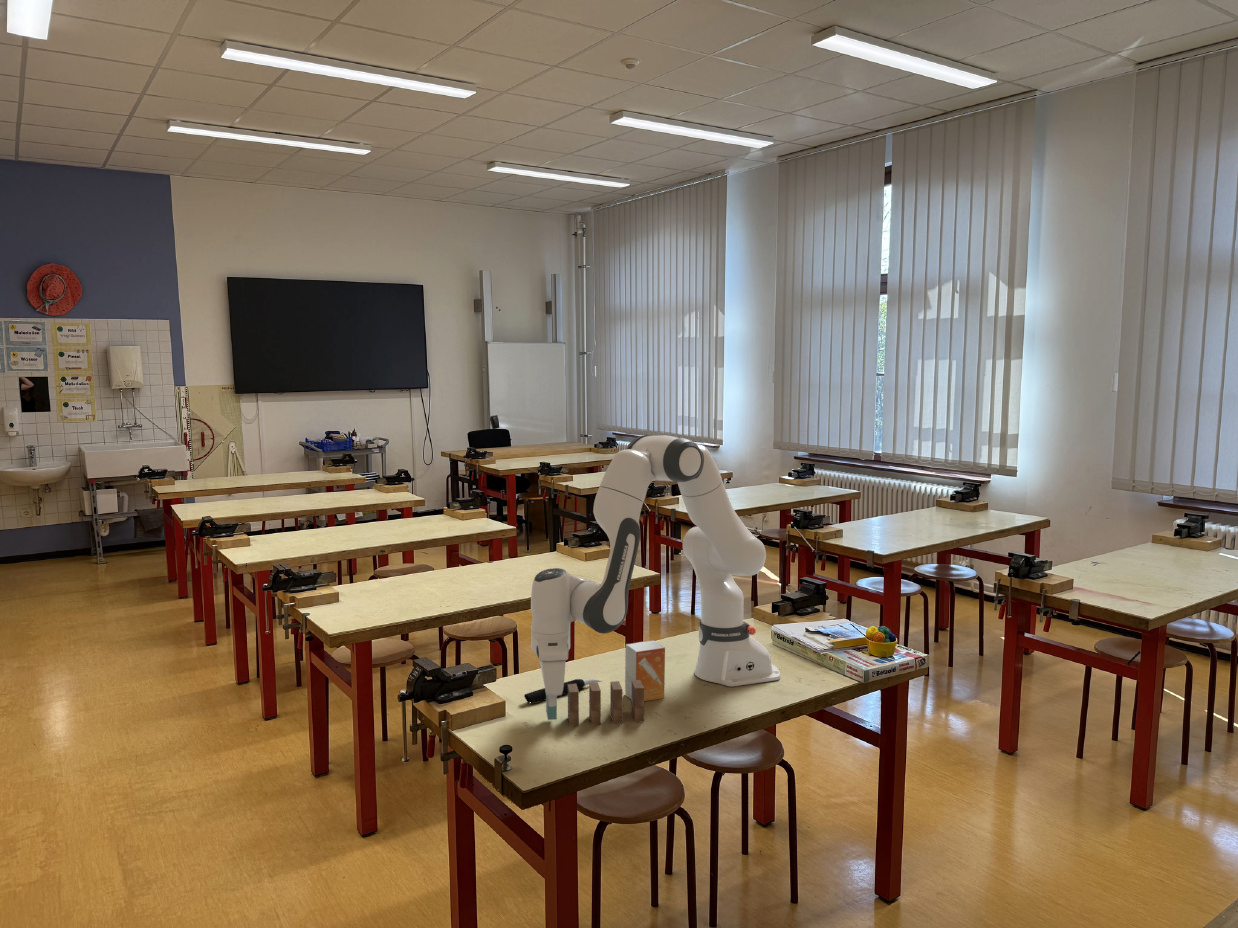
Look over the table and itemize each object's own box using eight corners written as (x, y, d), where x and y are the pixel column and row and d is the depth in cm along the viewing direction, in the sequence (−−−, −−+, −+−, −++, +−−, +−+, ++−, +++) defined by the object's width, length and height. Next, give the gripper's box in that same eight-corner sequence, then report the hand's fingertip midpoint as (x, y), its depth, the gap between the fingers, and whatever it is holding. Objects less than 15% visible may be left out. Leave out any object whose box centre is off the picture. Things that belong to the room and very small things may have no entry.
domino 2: (576, 716, 194) (576, 683, 193) (578, 725, 189) (578, 691, 188) (567, 717, 194) (567, 684, 193) (570, 726, 189) (569, 692, 188)
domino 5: (639, 712, 196) (640, 679, 196) (643, 721, 192) (644, 687, 191) (631, 713, 196) (631, 680, 195) (635, 721, 191) (635, 688, 190)
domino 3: (597, 715, 195) (597, 682, 194) (600, 724, 190) (600, 690, 189) (589, 715, 195) (589, 682, 194) (592, 724, 190) (591, 690, 189)
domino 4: (618, 713, 196) (618, 681, 195) (622, 722, 191) (622, 689, 190) (610, 714, 195) (610, 681, 194) (613, 723, 190) (613, 689, 190)
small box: (635, 703, 202) (635, 651, 200) (624, 694, 207) (624, 643, 206) (665, 698, 205) (665, 646, 204) (653, 689, 211) (653, 639, 209)
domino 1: (547, 719, 188) (547, 685, 187) (546, 710, 193) (546, 677, 192) (556, 719, 188) (556, 685, 187) (554, 710, 193) (554, 677, 192)
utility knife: (593, 682, 216) (593, 671, 216) (602, 687, 213) (602, 675, 212) (522, 703, 202) (522, 691, 202) (531, 708, 199) (531, 696, 199)
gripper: (534, 627, 198) (534, 683, 200) (539, 656, 178) (540, 718, 180) (560, 626, 199) (560, 682, 201) (569, 654, 179) (569, 716, 181)
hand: (551, 699), depth 190 cm, fingers closed on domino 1, 5 cm apart
